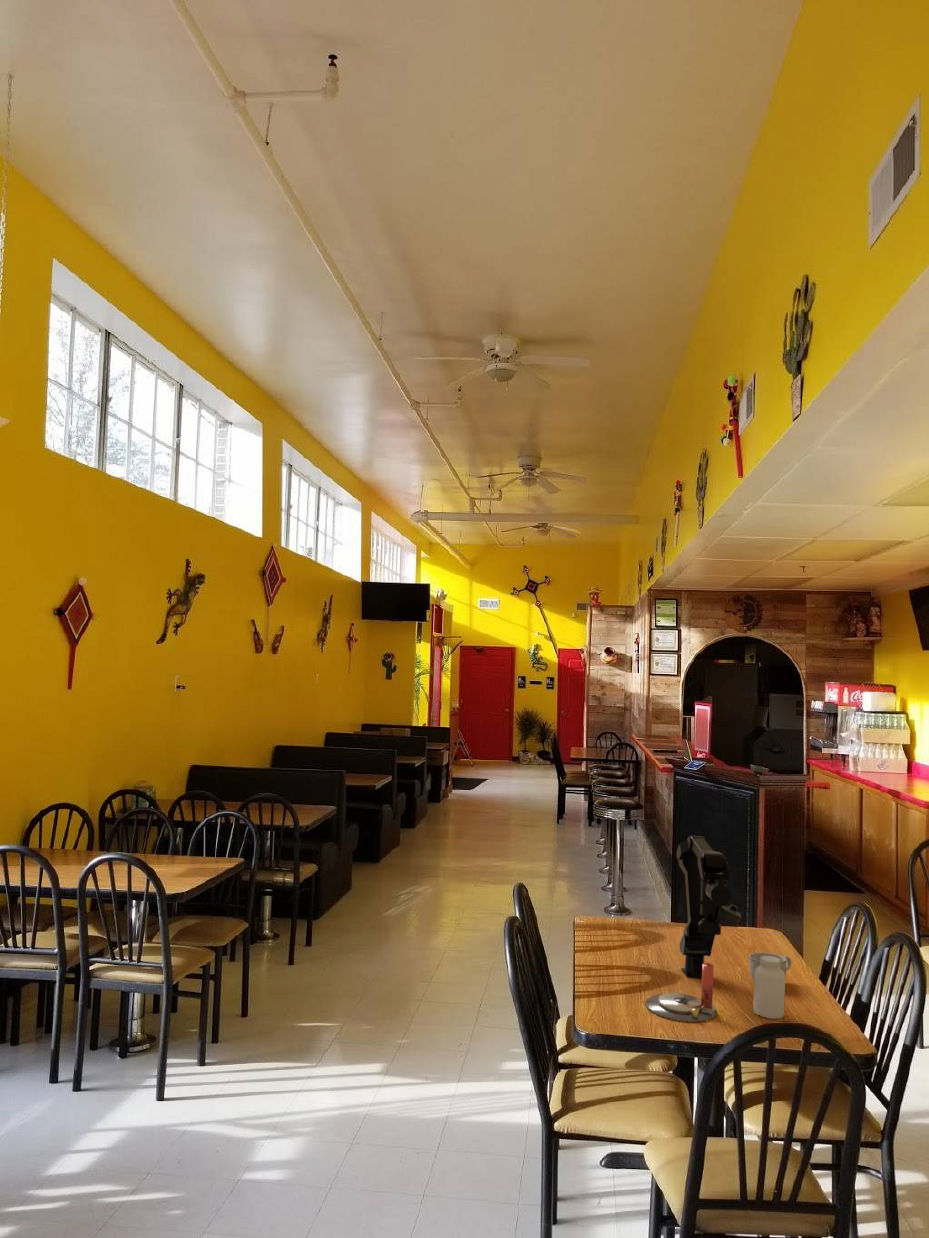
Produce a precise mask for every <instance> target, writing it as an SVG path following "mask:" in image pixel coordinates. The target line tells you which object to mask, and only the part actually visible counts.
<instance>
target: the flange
mask: <svg viewBox="0 0 929 1238" xmlns="http://www.w3.org/2000/svg"><path fill="white" fill-rule="evenodd" d="M714 970H715V969H714V965H713V963H708V962H704V963H703V964H702V977H701V990H700V997H701V998H698V997H695V996H693V995H690V994H685V993H679V992H671V993H669V992H668V993H667V992H666V993H663V994H662V995H660V996H659V1001H658V1003H659V1005H660V1006H661V1007H662V1008H664V1009H666V1010H669V1011H672V1012H676V1013H682V1014H692V1009H693V1008H697V1009H699V1012H701V1011H702V1012H704V1013H709V1014H713V1013H714V1011H715V1009H716V1005H715V1004H713V997H714V994H713V993H714ZM700 999H701V1000H700ZM699 1012H698V1013H699Z"/></svg>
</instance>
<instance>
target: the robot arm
mask: <svg viewBox="0 0 929 1238" xmlns="http://www.w3.org/2000/svg"><path fill="white" fill-rule="evenodd" d="M676 859H677V861H678V866H679V868H680V869H681V871H682V872H683V874H684V880H685V881H684V882H685V883H684V884H685V895H686V911H687V923H686V925H685V927H684V929H683V934H682V936H681V939H680V941H679V952H680V953H681V954H682V955H683V956H684V968H683V967H681V968H680V971H681V972H682V973H683V974H684V975H685V976H686V977H688V978H702V964H703V963H705V957H711V954H712V951H713V950H712V949H713V945H714V941H715V936H721V933H722V932H721V931H722V924H720V923H719V922H722V921H724V922H726V923H728V924H731V925H732V927H735V928H736V927H738V925H739V923H740V921H741V918H742V913H741V912H738V907H737V906H736V905H734V904H731V905H729V906H728V905H727V904H729V902H730V901H731V898H732V893H731V890H730V888H728V887H727V885H726V884H725V881H730V876H731V871H730V869H729V868H730V867H729V864H728V861H727V857H725V855H724V854H723V853H721V852H720V851H715V850H713V849H712V847H711V846H710V845H709V843H708V842H707V840H706V838H705V837H704V836H701V835H699V836H698V835H690V836H687V839H686V840H684V841H682V842H680V843H679V845H678V847H677V849H676Z"/></svg>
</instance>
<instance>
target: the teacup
mask: <svg viewBox="0 0 929 1238" xmlns="http://www.w3.org/2000/svg"><path fill="white" fill-rule="evenodd" d="M762 956H772V957H776V958H778V959H780V961H781V963H780V969H781V970H782V971H783V972H784V974H785V979H786V977H787V972H788V971H789V969H790V968H791V966H792V959H791V958H790V956H788V955H779V954H776V953H770V952H753V953H750V954H748V959H749V974H750V976H751V978H752V979H753V981H755V970H756V968H757V967H758V966H761V965H760V958H761V957H762Z"/></svg>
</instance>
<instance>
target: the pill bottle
mask: <svg viewBox="0 0 929 1238" xmlns="http://www.w3.org/2000/svg"><path fill="white" fill-rule="evenodd" d="M780 963H781V961H780V959H778V958H776V957H772V956H762V957H761V958H760V965H761V966H758V967H757V968H756V970H755V980H753V981H754V983H753V985H754V986H753V988H754V989H753V1007H752V1008H753V1012H754V1013H755V1014H756V1015H757V1016H759V1015H760V1017H762V1018H765V1017H766V1019H773V1020H774V1019H775V1020H776V1019H778V1020H779V1019H782V1018H783V1017H784V1014H785V993H786V991H785V989H786V978H785V974H784V972H783V971H782V970H781V969H780Z"/></svg>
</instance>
